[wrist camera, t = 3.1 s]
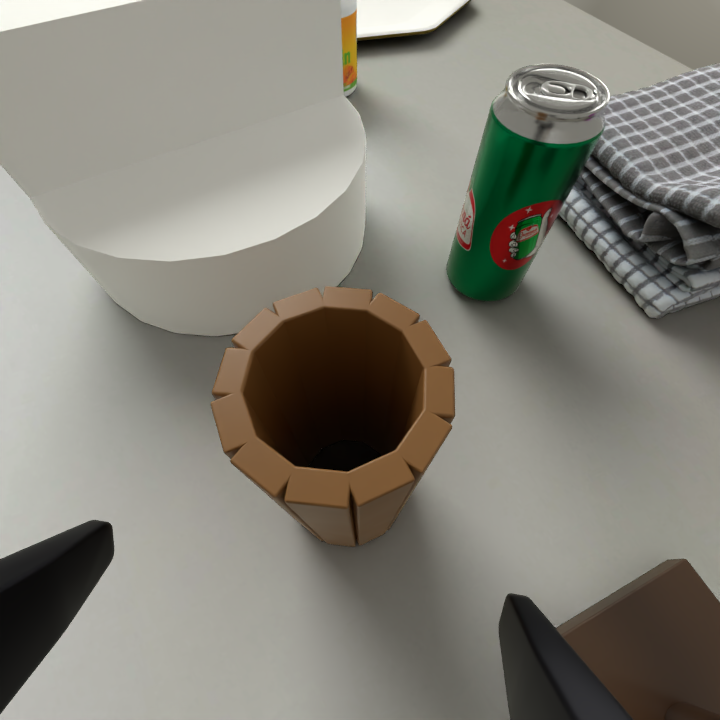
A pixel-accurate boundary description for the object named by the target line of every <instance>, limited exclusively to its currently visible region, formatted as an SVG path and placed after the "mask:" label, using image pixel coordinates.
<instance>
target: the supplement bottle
mask: <svg viewBox="0 0 720 720" xmlns="http://www.w3.org/2000/svg"><path fill="white" fill-rule="evenodd" d="M340 4H341V32H342V60H343V89H344V96H345V97H346V96H348V95H350V94H351V93H353V92H354V90H355V89H356V86H357V0H340Z"/></svg>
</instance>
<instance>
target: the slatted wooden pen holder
mask: <svg viewBox="0 0 720 720" xmlns="http://www.w3.org/2000/svg"><path fill="white" fill-rule="evenodd" d="M372 293H373V292H372V290H369V289H356V288H344V287H331V286H325V288H324V293H323V297H322V295H321V293H320V291H319V289H318V288H313V289H310V290H308V291H305V292H302V293H299V294H296V295H293V296H290V297H287V298H284V299H281V300H278V301H275V302H273V308H274V311H275V313H274V312H272V311H271V310H269V309H268V308H264V309H263V310H262V311H261V312H260V313H259V314H258V315H256V316H255V317H254V318H253V319H252V320H251V321H250V322H249V323H248V324H247V325H246V326H245V327H244V328H243V329H242V330H241V331H240V332H239V333H238V334H237V335H235V336H234V337H233V338H232V343H233V345H234V347H235V348H226V349H225V353H224V356H223V359H222V362H221V365H220V368H219V371H218V374H217V378H216V381H215V384H214V387H213V390H212V395H213V396H214V397H215V399H216V400H214V401H212V402H211V408H212V411H213V415H214V419H215V422H216V426H217V429H218V433H219V437H220V440H221V444H222V448H223V451H224V453H225V454H226V455H227V456H228V457H229V458H230V459H231V460H230V462H231V463H232V464H233V465H234V466H235V467H236V468H237V469H238V470H240V471H241V472H242V473H243V474H244V475H245V476H246V477H248V478H249V479H250V480H251V481H252V482H253V483H254V484H256V485H257V486H258V487H259V488H260V489H261V490H262V491H264V492H265V493H266V494H267V495H268V496H269V497H270V498H272V499H273V500H274V501H275V502H276V503H277V504H278V505H280V506H281V507H282V508H283V509H284V510H285V511H286V512H288V513H289V514H290V515H291V516H292V517H293V518H294V519H296V520H297V521H298V522H299V523H300V524H301V525H302V526H304V527H305V528H306V529H307V530H309V531H310V532H311V533H312V534H313V535H315V536H316V537H317V538H318V539H319V540H321V541H322V542H323V541H325V542H326V543H327V544H333V545H341V546H350V547H355V544H356V539H357V542H358V544H359V546H361V545H363V544H365V543H367V542H369V541H371V540H373V539H375V538H377V537H379V536H381V535H383V534H385V532H386V530H389V529H390V527H391V526H392V524H393V523H394V521H395V519H396V518H397V516H398V515H399V513H400V512H401V510H402V508H403V507H404V505H405V504H406V502H407V500H408V499H409V497H410V495H411V494H412V492H413V491H414V489H415V487H416V486H417V484H418V482H419V481H420V479H421V478H422V476H423V474H424V473H425V471H426V470H427V468H428V466H429V465H430V463H431V461H432V460H433V458H434V457H435V455H436V453H437V452H438V450H439V448H440V447H441V445H442V444H443V442H444V440H445V439H446V437H447V436H448V434H449V432H450V431H451V429H452V425H451V422H452V420H453V419H454V417H455V387H454V369H453V368H452V367H449V364H450V362H451V357H450V356H449V354H448V353H447V351H446V350H445V348H444V347H443V345H442V344H441V342H440V341H439V339H438V337H437V336H436V334H435V333H434V331H433V330H432V328H431V327H430V325H429V324H428V322H427V321H426V320H424V321H421V322H419V317H420V315H419V314H418V313H416V312H414V311H413V310H411V309H409V308H407V307H405V306H404V305H402V304H400V303H398V302H396V301H395V300H393V299H391V298H389V297H387V296H386V295H384V294H382V293H378V294H377V296H376V297H375V298H374V299H373V300H372ZM418 322H419V323H418ZM341 440H348V441H358V442H364V443H366V444H367V445H368V446H370V447H371V448H373V449H374V450H376V451H377V452H378V453H380V454H381V455H382V456H381V457H379V458H377V459H374V460H372V461H370V462H368V463H365V464H363V465H361V466H359V467H357V468H354V469H352V470H350V471H348V472H347V471H337V470H328V469H318V468H309V467H308V466H309V465H310V463H311V462H312V461H313V459H314V458H315V457H316V456H317V454H318V453H319V452H320V450H321V449H322V448H325V447H327V446H329V445H331V444H334V443H336V442H338V441H341Z"/></svg>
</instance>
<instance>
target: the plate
mask: <svg viewBox="0 0 720 720" xmlns="http://www.w3.org/2000/svg"><path fill="white" fill-rule="evenodd" d="M470 1H471V0H357V41H361V40H371V39H381V38H391V37H400V36H410V35H420V34H426V33H429V32H432V31H435V30H436V29H437V28H438V27H439V26H441V25H442V24H443V23H444V22H445V21H447V20H448V19H449V18H450V17H452V16H453V15H454V14H455V13H456V12H458V11H459V10H460V9H461V8H462V7H464V6H465V5H466V4H467V3H469V2H470Z"/></svg>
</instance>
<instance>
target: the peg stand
mask: <svg viewBox="0 0 720 720" xmlns="http://www.w3.org/2000/svg"><path fill="white" fill-rule="evenodd" d="M556 629H557V631H558V632H559V633H560V634H561V635H562V636H563V638H564V639H565V640H566V641H567V642H568V643H569V645H570V646H571V647H572V648H573V649H574V650H575V652H576V653H577V654H578V655H579V656H580V657H581V659H582V660H583V661H584V662H585V663H586V664H587V666H588V667H589V668H590V669H591V670H592V671H593V673H594V674H595V675H596V676H597V677H598V678H599V680H600V681H601V682H602V683H603V684H604V685H605V687H606V688H607V689H608V690H609V691H610V692H611V694H612V695H613V696H614V697H615V698H616V699H617V701H618V702H619V703H620V704H621V705H622V706H623V708H624V709H625V710H626V711H627V712H628V713H629V715H630V716H631V717H632V718H633V719H634V720H720V602H719V601H718V600H717V598H716V597H715V596H714V594H713V593H712V592H711V590H710V589H709V588H708V587H707V585H706V584H705V583H704V581H703V580H702V579H701V577H700V576H699V575H698V574H697V572H696V571H695V570H694V568H693V567H692V566H691V564H690V563H689V562H688V561H687V560H686V559H671V560H666V561H665V562H663V563H661V564H660V565H658V566H657V567H655V568H653V569H652V570H650V571H648V572H647V573H645V574H643V575H642V576H640V577H639V578H637V579H635V580H634V581H632V582H630V583H629V584H627V585H626V586H624V587H622V588H621V589H619V590H617V591H616V592H614V593H612V594H611V595H609V596H608V597H606V598H604V599H603V600H601V601H599V602H598V603H596V604H594V605H593V606H591V607H590V608H588V609H586V610H585V611H583V612H581V613H580V614H578V615H577V616H575V617H573V618H572V619H570V620H568V621H567V622H565V623H563V624H562V625H560V626H559V627H557V628H556Z"/></svg>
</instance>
